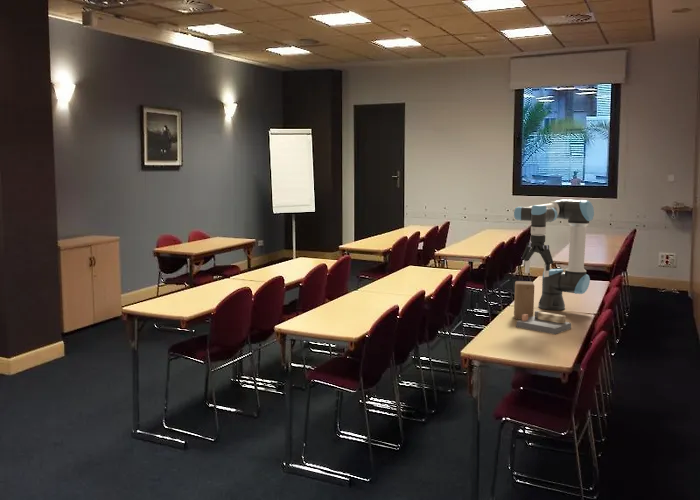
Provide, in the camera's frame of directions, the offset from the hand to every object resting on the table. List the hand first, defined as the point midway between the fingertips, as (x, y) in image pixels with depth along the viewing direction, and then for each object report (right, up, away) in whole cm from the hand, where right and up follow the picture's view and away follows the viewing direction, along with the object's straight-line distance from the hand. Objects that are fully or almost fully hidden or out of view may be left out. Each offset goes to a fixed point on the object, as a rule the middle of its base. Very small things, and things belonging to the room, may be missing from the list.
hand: (536, 274), depth 347 cm
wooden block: (-2, -25, +21) cm, 32 cm away
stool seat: (+3, -28, -2) cm, 28 cm away
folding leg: (+7, -24, +1) cm, 25 cm away
